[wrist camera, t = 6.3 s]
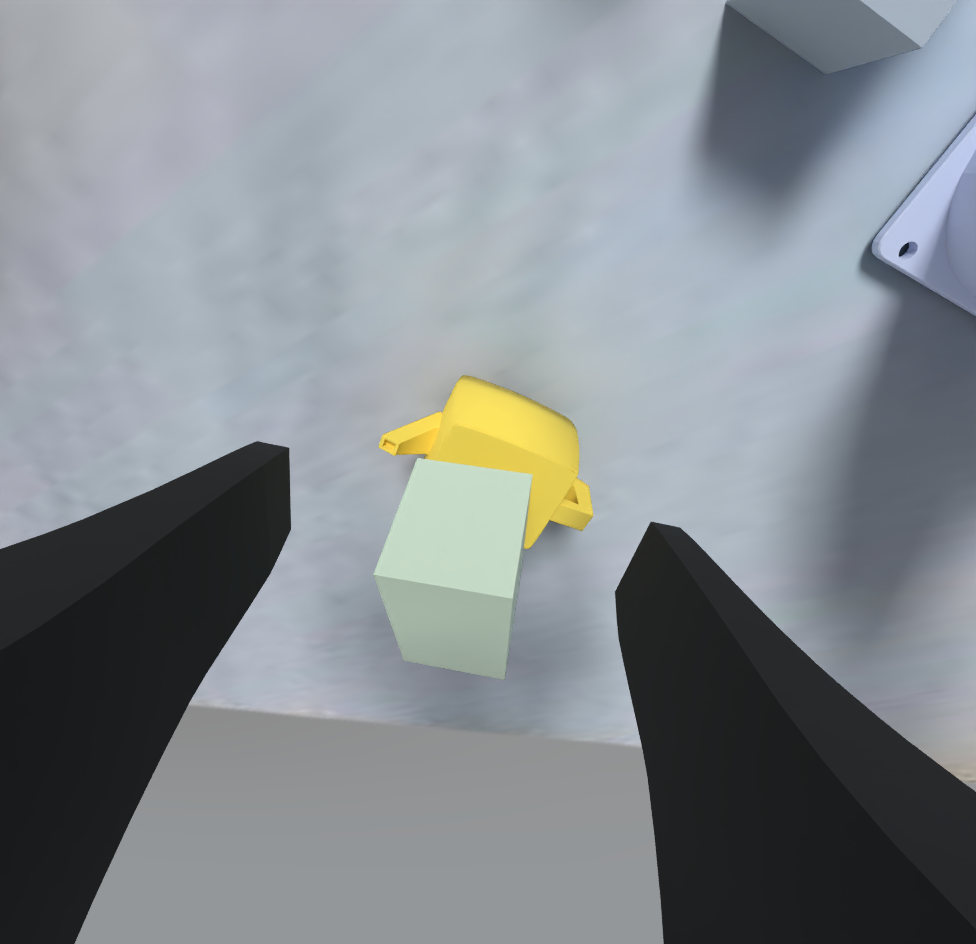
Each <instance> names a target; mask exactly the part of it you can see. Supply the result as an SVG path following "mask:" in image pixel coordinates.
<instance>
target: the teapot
mask: <svg viewBox="0 0 976 944" xmlns="http://www.w3.org/2000/svg"><path fill="white" fill-rule="evenodd" d="M379 448H381V449H383V450H384V451H386V452H388V453H390V454H392V455H394V456H396V455H405V454H425V457H424V459H428V460H435V461H442V462H449V463H456V464H463V465H470V466H477V467H484V468H491V469H498V470H505V471H512V472H519V473H526V474H533V476H532V484H531V493H530V501H529V509H528V518H527V526H526V535H525V543H524V548H525V549H529V548H530V547H531V546H532V545H533V544H534V542H535V541H536V539H537V538H538V537H539V535H540V534H541V532H542V531H543V529H544V528H545V526H546V525H547V523H548V522H549V520H550V521H553V522H556V523H559V524H562V525H565V526H568V527H571V528H574V529H577V530H580V531H583V529H584V528H585V526H586V525H587V524H588V522H589V521H590V520H591V518H592V517H593V510H592V503H591V497H590V490H589V486H588V485H587V484H585V483H584V482H582V481H581V480H579V479H578V478H577V476H578V471H579V442H578V435H577V430H576V428H575V426H574V424H573V423H572V422H571V421H570V420H569V419H568V418H566V417H565V416H563V415H561V414H559V413H557V412H555V411H553V410H551V409H549V408H547V407H545V406H543V405H541V404H539V403H537V402H535V401H533V400H531V399H529V398H527V397H525V396H522V395H520V394H518V393H515V392H513V391H510V390H508V389H505V388H502V387H500V386H497V385H494V384H492V383H489V382H486V381H484V380H481V379H478V378H475V377H471V376H466V375H463V376H461V377H460V379H459V380H458V382H457V383H456V385H455V387H454V389H453V391H452V393H451V395H450V397H449V399H448V402H447V404H446V406H445V408H444V410H443V412H437V413H435V414H432V415H430V416H427V417H425V418H422V419H420V420H417V421H415V422H413V423H410V424H408V425H405V426H403V427H400V428H398V429H395V430H393V431H390V432H388V433H386V434H384V435H382V438H381V441H380V444H379Z"/></svg>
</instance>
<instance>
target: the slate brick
mask: <svg viewBox="0 0 976 944" xmlns="http://www.w3.org/2000/svg"><path fill="white" fill-rule="evenodd" d="M957 1H958V0H727V1H726V4H727V5H729V6H730V7H731V8H733V9H734V10H736V11H737V12H738V13H740V14H741V15H743V16H744V17H745V18H747V19H748V20H750V21H751V22H752V23H754V24H755V25H757V26H758V27H759V28H761V29H762V30H764V31H765V32H767V33H768V34H769V35H771V36H772V37H774V38H775V39H776V40H778V41H779V42H781V43H782V44H783V45H785V46H786V47H788V48H789V49H790V50H792V51H793V52H795V53H796V54H797V55H799V56H800V57H802V58H803V59H804V60H806V61H807V62H809V63H810V64H811V65H813V66H814V67H816V68H817V69H818V70H820V71H821V72H823V73H824V74H825V75H827V74H830V73H834V72H837V71H841V70H845V69H848V68H852V67H855V66H859V65H862V64H866V63H870V62H873V61H877V60H880V59H884V58H888V57H891V56H895V55H898V54H902V53H905V52H909V51H913V50H916V49H920V48H923V46H924V45H925V44H926V42H927V41H928V40H929V38H930V37H931V35H932V34H933V33H934V31H935V30H936V29H937V27H938V26H939V25H940V23H941V22H942V21H943V19H944V18H945V17H946V15H947V14H948V13H949V11H950V10H951V9H952V7H953V6H954V5H955V3H956V2H957Z"/></svg>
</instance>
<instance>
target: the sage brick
mask: <svg viewBox="0 0 976 944" xmlns="http://www.w3.org/2000/svg"><path fill="white" fill-rule="evenodd" d="M532 476H533V474H526V473H519V472H512V471H505V470H498V469H491V468H484V467H477V466H470V465H463V464H456V463H449V462H442V461H435V460H428V459H421V458H417V461H416V463H415V466H414V469H413V471H412V474H411V476H410V479H409V482H408V484H407V487H406V490H405V492H404V495H403V498H402V500H401V503H400V506H399V508H398V511H397V514H396V516H395V519H394V521H393V524H392V527H391V529H390V532H389V535H388V537H387V540H386V543H385V545H384V548H383V551H382V553H381V556H380V559H379V561H378V564H377V566H376V569H375V572H374V574H373V575H374V578H375V581H376V583H377V586H378V589H379V592H380V595H381V598H382V600H383V603H384V606H385V609H386V612H387V615H388V618H389V620H390V623H391V626H392V629H393V632H394V635H395V637H396V640H397V643H398V646H399V649H400V652H401V654H402V657H403V660H404V661H408V662H413V663H419V664H424V665H429V666H434V667H439V668H445V669H450V670H455V671H460V672H465V673H471V674H476V675H481V676H486V677H492V678H497V679H502V680H505V673H506V667H507V660H508V654H509V647H510V641H511V634H512V628H513V621H514V615H515V609H516V602H517V596H518V589H519V583H520V576H521V568H522V560H523V552H524V543H525V535H526V526H527V518H528V509H529V501H530V493H531V484H532Z"/></svg>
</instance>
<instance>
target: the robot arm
mask: <svg viewBox="0 0 976 944" xmlns="http://www.w3.org/2000/svg"><path fill="white" fill-rule="evenodd" d="M906 243H909V248H908V250H907V252H906V253H905V254H904V255H903V256H901V257H899V251H900V249H901V247H902V246H903V245H905V244H906ZM872 253H873V254H874V255H875V257H877V258H878V259H880V260H882V261H883V262H885V263H887V264H888V265H890V266H892V267H893V268H895V269H897V270H898V271H900V272H902V273H904V274H905V275H907V276H909V277H910V278H912V279H914V280H915V281H917V282H919V283H920V284H922V285H924V286H925V287H927V288H929V289H931V290H932V291H934V292H936V293H937V294H939V295H941V296H942V297H944V298H946V299H947V300H949V301H951V302H952V303H954V304H956V305H957V306H959V307H961V308H963V309H964V310H966V311H968V312H969V313H971V314H973V315H974V316H976V115H975V116H974V117H973V118H972V120H971V121H970V122H969V123H968V124H967V126H966V127H965V128H964V129H963V131H962V132H961V133H960V134H959V135H958V137H957V138H956V139H955V140H954V142H953V143H952V144H951V145H950V146H949V148H948V149H947V150H946V151H945V153H944V154H943V155H942V156H941V157H940V159H939V160H938V161H937V162H936V164H935V165H934V166H933V167H932V168H931V170H930V171H929V172H928V173H927V175H926V176H925V177H924V178H923V179H922V181H921V182H920V183H919V184H918V186H917V187H916V188H915V189H914V190H913V192H912V193H911V194H910V195H909V196H908V198H907V199H906V200H905V201H904V203H903V204H902V205H901V206H900V207H899V209H898V210H897V211H896V212H895V214H894V215H893V216H892V217H891V218H890V220H889V221H888V222H887V223H886V225H885V226H884V227H883V228H882V229H881V231H880V232H879V233H878V234H877V236H876V237H875V239H874V241H873V244H872ZM290 530H291V511H290V465H289V448H287V447H282V446H278V445H273V444H268V443H263V442H258V441H257V442H254V443H252V444H249V445H247V446H244V447H242V448H240V449H238V450H236V451H234V452H231V453H229V454H227V455H225V456H223V457H221V458H219V459H217V460H215V461H213V462H211V463H208V464H206V465H204V466H202V467H200V468H198V469H196V470H194V471H192V472H190V473H187V474H185V475H183V476H181V477H179V478H177V479H175V480H172V481H170V482H168V483H166V484H164V485H162V486H160V487H158V488H155V489H153V490H151V491H149V492H146V493H144V494H142V495H139V496H137V497H135V498H132V499H130V500H128V501H125V502H123V503H120V504H118V505H116V506H113V507H111V508H109V509H106V510H104V511H102V512H99V513H97V514H95V515H92V516H90V517H87V518H85V519H83V520H80V521H77V522H75V523H72V524H70V525H67V526H64V527H62V528H59V529H56V530H54V531H51V532H48V533H46V534H43V535H40V536H37V537H34V538H31V539H28V540H26V541H23V542H20V543H17V544H14V545H11V546H8V547H5V548H2V549H0V944H74V943H75V941H76V939H77V937H78V934H79V932H80V930H81V927H82V925H83V922H84V920H85V918H86V916H87V914H88V911H89V909H90V907H91V904H92V902H93V900H94V898H95V896H96V893H97V891H98V889H99V887H100V885H101V883H102V880H103V878H104V876H105V874H106V872H107V870H108V867H109V865H110V863H111V861H112V859H113V857H114V854H115V852H116V850H117V848H118V846H119V844H120V841H121V839H122V837H123V835H124V833H125V831H126V828H127V826H128V824H129V822H130V820H131V818H132V816H133V814H134V812H135V810H136V808H137V806H138V804H139V802H140V800H141V798H142V795H143V793H144V791H145V789H146V787H147V785H148V783H149V781H150V779H151V777H152V775H153V773H154V771H155V769H156V767H157V765H158V763H159V761H160V759H161V757H162V755H163V753H164V751H165V749H166V747H167V745H168V743H169V741H170V739H171V737H172V735H173V733H174V731H175V729H176V728H177V726H178V724H179V722H180V720H181V718H182V716H183V714H184V712H185V710H186V708H187V706H188V704H189V702H190V700H191V699H192V697H193V695H194V694H195V692H196V690H197V689H198V687H199V685H200V683H201V682H202V680H203V678H204V677H205V675H206V673H207V672H208V670H209V669H210V667H211V666H212V664H213V663H214V661H215V659H216V658H217V656H218V655H219V653H220V652H221V650H222V649H223V647H224V645H225V644H226V642H227V641H228V639H229V638H230V636H231V635H232V633H233V631H234V630H235V628H236V627H237V625H238V624H239V622H240V621H241V619H242V617H243V616H244V614H245V613H246V611H247V610H248V608H249V607H250V605H251V603H252V602H253V600H254V599H255V597H256V595H257V594H258V592H259V591H260V589H261V588H262V586H263V584H264V583H265V581H266V580H267V578H268V576H269V575H270V573H271V571H272V569H273V567H274V565H275V563H276V561H277V559H278V556H279V554H280V552H281V550H282V548H283V546H284V543H285V541H286V539H287V537H288V535H289V532H290ZM615 598H616V614H617V626H618V636H619V642H620V647H621V652H622V657H623V662H624V666H625V671H626V676H627V681H628V685H629V690H630V694H631V699H632V703H633V708H634V712H635V717H636V721H637V726H638V731H639V735H640V740H641V744H642V749H643V754H644V760H645V765H646V771H647V776H648V785H649V792H650V801H651V809H652V818H653V825H654V835H655V843H656V844H655V845H656V855H657V866H658V876H659V887H660V896H661V909H662V924H663V939H664V944H976V792H975V791H974V790H973V789H971V788H970V787H968V786H967V785H966V784H964V783H963V782H962V781H960V780H959V779H957V778H956V777H955V776H954V775H952V774H951V773H950V772H948V771H947V770H946V769H944V768H943V767H942V766H940V765H939V764H938V763H936V762H935V761H934V760H932V759H931V758H930V757H928V756H927V755H926V754H925V753H923V752H922V751H921V750H919V749H918V748H917V747H915V746H914V745H913V744H911V743H910V742H909V741H907V740H906V739H905V738H904V737H902V736H901V735H900V734H899V733H897V732H896V731H895V730H894V729H892V728H891V727H890V726H889V725H887V724H886V723H885V722H884V721H882V720H881V719H880V718H879V717H877V716H876V715H875V714H874V713H873V712H872V711H870V710H869V709H868V708H867V707H866V706H864V705H863V704H862V703H861V702H860V701H859V700H857V699H856V698H855V697H854V696H853V695H851V694H850V693H849V692H848V691H847V690H846V689H844V688H843V687H842V686H841V685H840V684H838V683H837V682H836V681H835V680H834V679H833V678H832V677H831V676H829V675H828V674H827V673H826V672H825V671H824V670H823V669H822V668H820V667H819V666H818V665H817V664H816V663H815V662H814V661H813V660H812V659H811V658H810V657H809V656H808V655H807V654H805V653H804V652H803V651H802V650H801V649H800V648H799V647H798V646H797V645H796V644H795V643H794V642H793V641H792V640H791V639H790V638H789V637H788V636H786V635H785V634H784V633H783V632H782V631H781V630H780V629H779V628H778V627H777V626H776V625H775V624H774V623H773V622H772V621H771V620H770V619H769V618H768V617H767V616H766V615H765V614H764V613H763V612H762V611H761V610H760V609H759V608H758V607H757V606H756V605H755V604H754V603H753V602H752V600H751V599H750V598H749V597H748V596H747V595H746V594H745V593H744V592H743V591H742V590H741V589H740V588H739V587H738V586H737V585H736V584H735V583H734V582H733V581H732V580H731V579H730V578H729V577H728V575H727V574H726V573H725V572H724V571H723V570H722V569H721V568H720V567H719V566H718V565H717V564H716V563H715V562H714V561H713V560H712V559H711V558H710V556H709V555H708V554H707V553H706V552H705V551H704V550H703V549H702V548H701V547H700V546H699V545H698V544H697V543H696V542H695V541H694V540H693V539H692V538H691V537H690V536H689V535H688V534H687V533H685V532H684V531H683V530H682V529H681V528H679V527H675V526H670V525H665V524H660V523H655V522H651V523H650V524H649V526H648V528H647V530H646V532H645V534H644V536H643V538H642V540H641V542H640V544H639V546H638V548H637V550H636V552H635V554H634V556H633V558H632V560H631V562H630V564H629V566H628V568H627V570H626V571H625V573H624V575H623V577H622V579H621V581H620V583H619V585H618V587H617V589H616V591H615Z"/></svg>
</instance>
